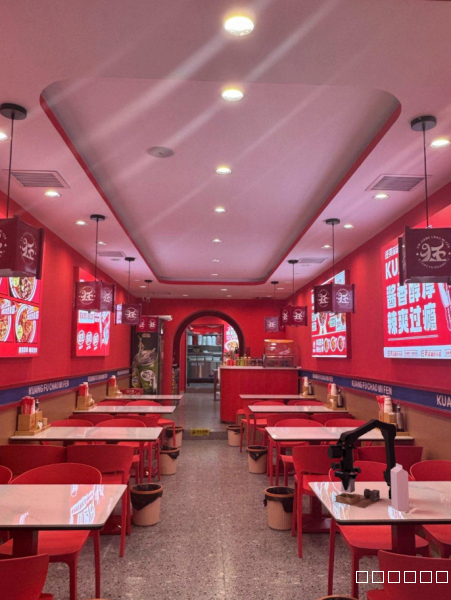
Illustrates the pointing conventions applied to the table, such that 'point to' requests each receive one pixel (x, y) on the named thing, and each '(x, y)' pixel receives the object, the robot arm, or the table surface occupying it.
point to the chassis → (359, 499)
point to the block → (349, 486)
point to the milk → (399, 489)
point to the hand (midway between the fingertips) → (348, 489)
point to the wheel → (367, 493)
